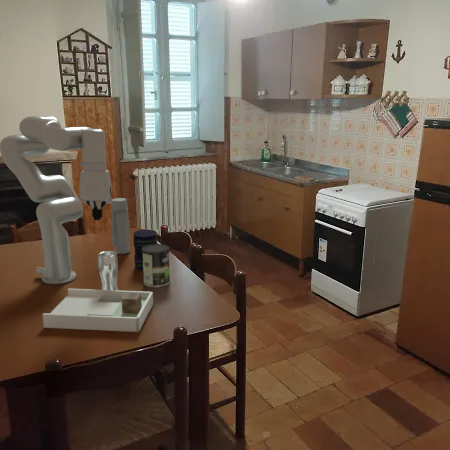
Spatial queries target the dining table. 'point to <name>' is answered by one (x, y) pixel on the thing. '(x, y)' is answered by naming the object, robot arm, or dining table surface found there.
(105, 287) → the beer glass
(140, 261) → the storage jar
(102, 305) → the box
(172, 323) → the dining table surface
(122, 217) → the water bottle
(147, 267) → the coffee can
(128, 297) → the walnut block
